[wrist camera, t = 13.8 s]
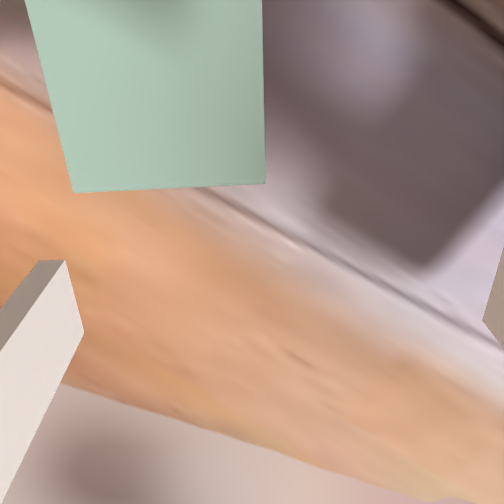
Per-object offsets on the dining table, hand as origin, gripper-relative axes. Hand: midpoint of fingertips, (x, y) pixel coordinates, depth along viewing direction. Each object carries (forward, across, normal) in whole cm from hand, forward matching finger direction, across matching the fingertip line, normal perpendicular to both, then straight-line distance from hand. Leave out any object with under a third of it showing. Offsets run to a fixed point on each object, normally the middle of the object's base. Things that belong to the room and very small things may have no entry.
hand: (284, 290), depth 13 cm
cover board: (+16, +6, -6) cm, 17 cm away
